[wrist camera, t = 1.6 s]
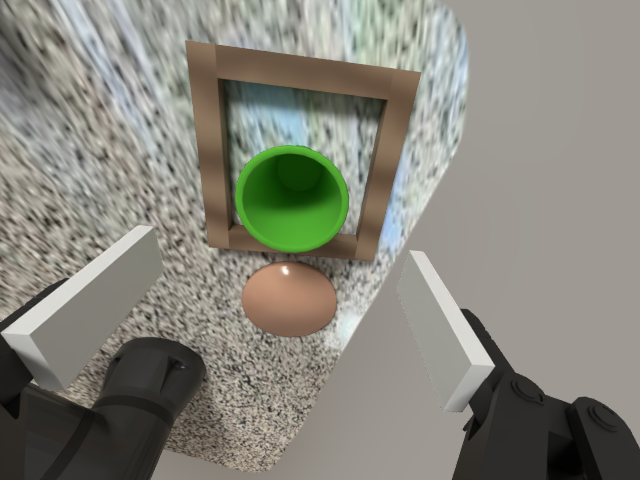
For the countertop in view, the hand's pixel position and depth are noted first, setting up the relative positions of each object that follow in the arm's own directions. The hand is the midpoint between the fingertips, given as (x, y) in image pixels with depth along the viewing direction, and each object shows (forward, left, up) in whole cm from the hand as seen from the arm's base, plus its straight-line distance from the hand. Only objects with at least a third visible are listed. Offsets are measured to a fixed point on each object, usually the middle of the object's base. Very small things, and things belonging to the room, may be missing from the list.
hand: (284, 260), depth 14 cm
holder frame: (0, 0, -19) cm, 19 cm away
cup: (0, 0, -19) cm, 19 cm away
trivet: (-20, 0, -19) cm, 28 cm away
